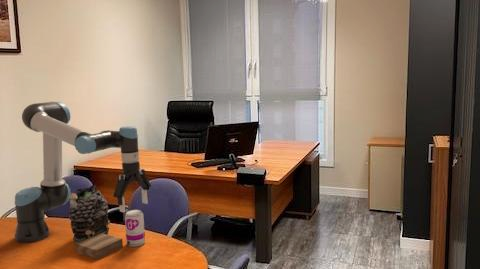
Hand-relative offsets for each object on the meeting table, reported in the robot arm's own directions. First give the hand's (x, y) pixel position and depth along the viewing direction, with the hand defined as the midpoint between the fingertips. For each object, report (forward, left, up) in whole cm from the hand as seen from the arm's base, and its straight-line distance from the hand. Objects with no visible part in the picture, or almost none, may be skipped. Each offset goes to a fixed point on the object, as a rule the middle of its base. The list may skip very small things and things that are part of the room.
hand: (134, 207), depth 191 cm
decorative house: (-25, -5, -17) cm, 31 cm away
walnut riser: (-9, -13, -17) cm, 24 cm away
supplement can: (0, 0, -17) cm, 17 cm away
